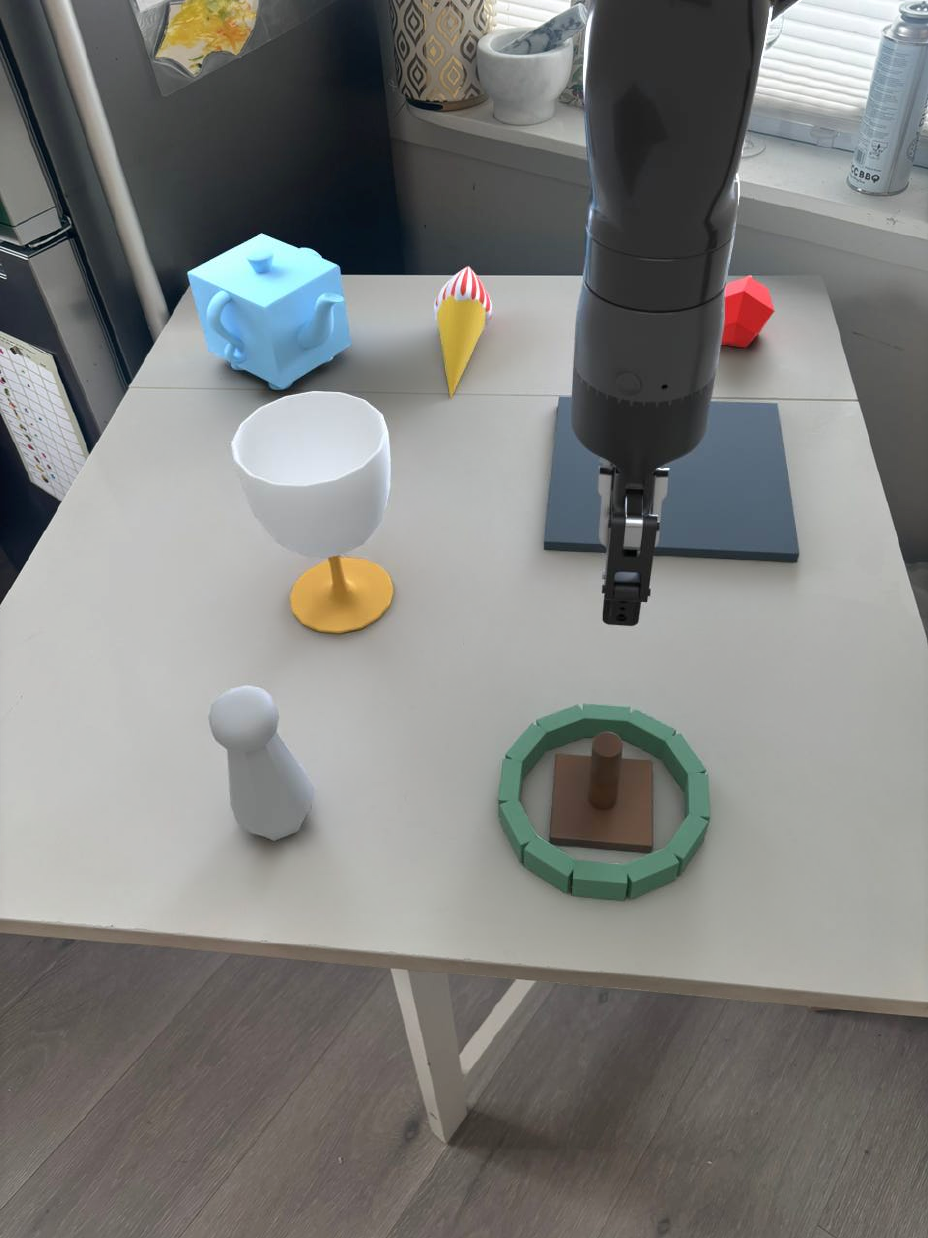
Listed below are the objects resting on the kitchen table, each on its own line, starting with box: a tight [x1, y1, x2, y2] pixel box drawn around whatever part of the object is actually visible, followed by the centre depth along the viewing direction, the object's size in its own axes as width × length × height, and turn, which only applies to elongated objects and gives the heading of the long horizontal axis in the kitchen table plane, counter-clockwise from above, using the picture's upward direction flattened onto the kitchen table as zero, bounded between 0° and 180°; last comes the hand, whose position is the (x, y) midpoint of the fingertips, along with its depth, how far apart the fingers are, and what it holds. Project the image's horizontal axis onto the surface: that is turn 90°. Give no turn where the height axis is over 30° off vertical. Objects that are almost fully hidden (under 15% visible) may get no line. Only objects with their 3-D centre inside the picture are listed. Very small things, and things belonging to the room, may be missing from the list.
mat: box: [543, 395, 800, 563], centre depth 94 cm, size 22×22×1 cm
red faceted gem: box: [721, 275, 775, 349], centre depth 108 cm, size 7×7×8 cm
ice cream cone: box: [433, 265, 493, 400], centre depth 110 cm, size 6×6×20 cm
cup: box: [230, 390, 395, 634], centre depth 80 cm, size 12×12×17 cm
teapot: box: [186, 233, 352, 391], centre depth 105 cm, size 18×16×13 cm
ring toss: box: [548, 732, 654, 854], centre depth 68 cm, size 7×7×8 cm
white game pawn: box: [208, 685, 315, 842], centre depth 67 cm, size 6×6×13 cm
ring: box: [497, 703, 711, 902], centre depth 70 cm, size 14×14×2 cm
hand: (621, 572), depth 64 cm, fingers open, 8 cm apart
